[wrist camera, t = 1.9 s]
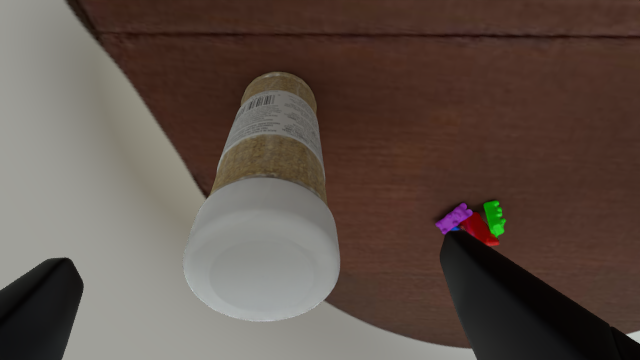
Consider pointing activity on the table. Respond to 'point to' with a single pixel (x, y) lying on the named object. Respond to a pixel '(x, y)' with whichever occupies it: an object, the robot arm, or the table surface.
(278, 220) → the sprinkles bottle
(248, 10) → the table surface
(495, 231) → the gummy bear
